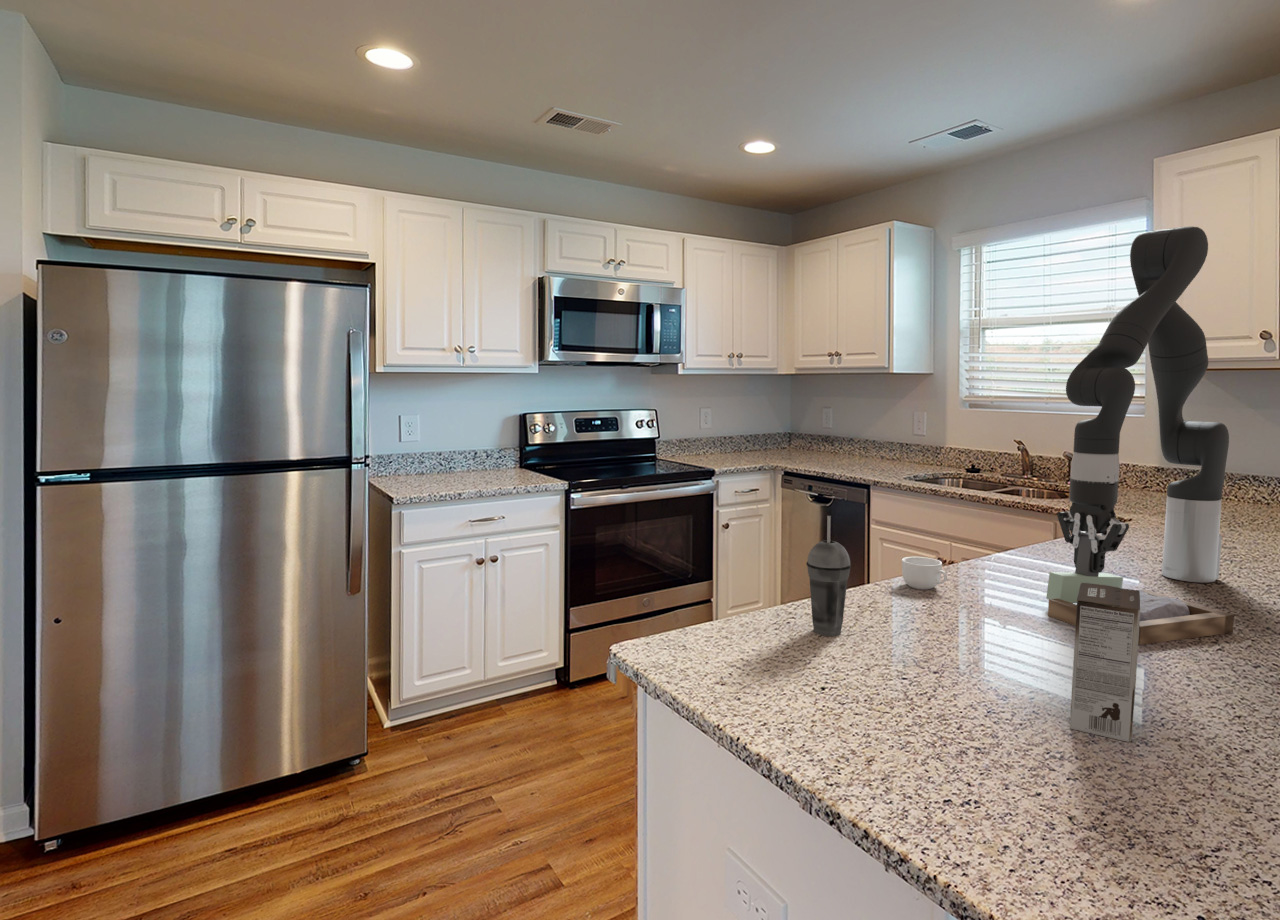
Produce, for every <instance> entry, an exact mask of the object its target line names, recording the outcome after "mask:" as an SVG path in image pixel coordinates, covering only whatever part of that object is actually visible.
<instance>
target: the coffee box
mask: <svg viewBox="0 0 1280 920" xmlns="http://www.w3.org/2000/svg"><path fill="white" fill-rule="evenodd" d="M1139 590H1140V589H1131V588H1118V587H1113V586H1107V585H1099V584H1091V583H1081V584H1080V588H1079V593H1078V598H1077V603H1076V605H1077V611H1076V626H1075V630H1074V646H1073V647H1074V649H1073V666H1072V680H1071V681H1072V683H1071V701H1070V702H1071V703H1070V717H1069V718H1070V719H1069V720H1070V722H1069V728H1070V730H1075V731H1078V732H1083V733H1087V734H1091V735H1097V736H1100V737H1105V738H1109V739H1113V740H1118V741H1122V742H1126V743H1130V742H1131V741H1132V732H1133V722H1134V721H1133V720H1134V712H1135V711H1134V710H1135V709H1134V708H1135V697H1136V685H1137V670H1138V667H1137V666H1138V656H1139V655H1138V654H1139V653H1138V651H1139V645H1138V640H1139V623H1140V592H1139Z"/></svg>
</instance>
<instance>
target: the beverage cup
mask: <svg viewBox="0 0 1280 920" xmlns="http://www.w3.org/2000/svg"><path fill="white" fill-rule="evenodd" d="M831 517H832V516H831V515H827V517H826V518H827V521H826V522H827V523H826V524H827V525H826V526H827V527H826V531H827V532H826V540H821V541H819V542H817V543H816V544H815V545H814V546H812V548H811V549H810V550H809V553H808V555H807V561H806V566H807V573H808V574H807V575H808V577H809V587H810V588H809V589H810V604H811V607H810V608H811V618H812V625H813V626H812V627H813V632H814V634H816V635H819V636H825V637H837V636H839V635H841V634H842V627H843V624H844V613H845V605H846V594H847V588H848V587H847V586H848V579H849V576H850V572H851V567H852V564H851V559H850V558H851V557H850V555H849V553H848V551H847V549H846V547H844V546H843V545H842V544H840V543H839V542H838V541H835V540H831V521H832V520H831V519H832V518H831Z"/></svg>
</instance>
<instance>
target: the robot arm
mask: <svg viewBox="0 0 1280 920" xmlns="http://www.w3.org/2000/svg"><path fill="white" fill-rule="evenodd" d="M1208 252H1209V241H1208V237H1207V233H1206V232H1205V231H1204V230H1203V229H1202V228H1200V227H1199V226H1180V227H1173V228H1164V229H1156V230H1150V231H1145V232H1140V233H1139V234H1138V235H1137V236H1135V237H1134V239H1133V241H1132V243H1131V247H1130V253H1129V258H1130V259H1129V260H1130V261H1129V262H1130V268H1131V273H1132V277H1133V281H1134V285H1135V288H1136V291H1137V294H1138V296H1137V297H1136V298H1135V299H1133V300H1131V301H1130V302H1129V303H1127V304H1126V305H1125V306H1123V308H1122V309H1120V310H1119V312H1117V313H1116V314H1115V316H1114V317H1113V318H1112V319H1111V321H1110V322H1109V324H1108V326H1107V328H1106V330H1105V331H1104V333H1103V335H1102V337H1101V339H1100V340H1099V343H1098V344H1097V345H1096V346H1095V347H1094V348H1093V349H1092V350H1091V351H1090V352H1089V353H1088V354H1087V355H1086V356H1085V357H1084V358H1083V359H1082V360H1081V361H1080V362H1079V363H1078V364H1077V365H1076V366H1075V367H1074V369H1073V370H1072V371H1071V372H1070V374H1069V377H1068V378H1067V381H1066V385H1065V393H1066V398H1067V399H1068V400H1069V402H1070V403H1072V404H1074V405H1076V406H1080V407H1101V408H1100V410H1099V413H1098V414H1097V415H1096V417H1094V418H1090V419H1085V420H1084V419H1083V420H1081V421H1078V422H1077V423H1076V424H1075V427H1074V433H1073V434H1074V435H1073V436H1074V439H1073V452H1072V453H1073V454H1072V459H1071V463H1070V476H1069V477H1070V478H1069V492H1068V493H1069V494H1068V495H1069V496H1068V500H1069V502H1071V505H1070V507H1069V510H1067V511H1058V512H1057V514H1056V516H1057V519H1058V522H1059V525H1060V529H1061V532H1062V534H1063V538H1064V541H1065V543H1068V544H1070V545H1072V547H1073V548H1074V551H1073V563H1074V567H1075V568H1076V563H1077V555H1078V548H1079V541H1080V538H1081V536H1089V539H1090V540H1091V547H1092V552H1091V558H1090V572H1093V573H1103V571H1104V569H1105V561H1106V554H1107V553H1109V552H1115V551H1117V550H1118V548H1119V546H1120V544H1121V543H1122V541H1123V539H1124V538H1125V535H1126V534H1127V533H1128V531H1129V529H1130V525H1129V523H1127V522H1122V521H1120V520H1119V519H1117V516H1116V512H1115V506H1116V505H1117V503H1118V499H1119V498H1118V495H1119V482H1120V480H1119V479H1120V457H1119V455H1120V454H1119V453H1120V439H1121V436H1120V435H1121V431H1122V427H1123V424H1124V421H1125V420H1126V416H1127V412H1128V410H1129V408H1130V406H1131V403H1132V401H1133V397H1134V395H1135V392H1136V381H1135V378H1134V376H1133V374H1132V373H1131V372H1130V370H1128V369H1127V368H1131V367H1133V366H1135V365H1136V364H1137V363H1138V362H1139V360H1140V359H1141V357H1142V355H1143V353H1144V351H1145V349H1146V347H1147V345H1148V354H1149V360H1150V365H1151V366H1150V367H1151V371H1152V375H1153V381H1154V385H1155V386H1154V387H1155V392H1156V400H1157V406H1158V422H1159V423H1158V424H1159V439H1160V447H1161V448H1160V449H1161V453H1162V456H1163V458H1164V459H1165V461H1166V462H1168V463H1169V464H1175V465H1181V466H1182V465H1183V466H1197V467H1198V466H1199V467H1201V468H1200V471H1199V473H1197V474H1196V475H1194V476H1192V477H1190V478H1189V477H1188V478H1186V479H1181V480H1176V481H1172V482H1170V483H1168V486H1167V489H1166V505H1165V518H1164V519H1165V521H1164V535H1163V549H1162V550H1163V551H1162V567H1161V575H1162V576H1164V577H1166V578H1169V579H1174V580H1177V581H1182V582H1191V583H1202V584H1203V583H1213V582H1216V580H1218V579H1219V577H1220V566H1221V565H1220V563H1221V553H1222V551H1221V549H1222V539H1223V537H1222V534H1220V531H1221V530H1220V529H1221V513H1222V501H1223V490H1224V483H1225V477H1226V476H1225V475H1226V466H1227V460H1228V454H1229V453H1228V452H1229V444H1230V435H1229V434H1230V433H1229V429H1228V427H1227V425H1226V424H1224V423H1222V422H1219V421H1217V422H1216V421H1195V420H1194V421H1192V420H1191V421H1189V420H1188V421H1186V420H1184V417H1183V408H1184V405H1185V403H1186V401H1187V399H1188V398H1189V396H1190V395H1191V394H1192V392H1193V391H1194V390H1195V388H1196V387H1197V386H1198V384H1199V383H1200V381H1202V379H1203V377H1204V375H1205V374H1206V372H1207V370H1208V367H1209V355H1208V349H1207V348H1208V347H1207V340H1206V335H1205V332H1204V331H1203V329H1202V328H1201V326H1200V325H1199V324H1198V323H1197V321H1195V319H1194V318H1193V317H1192V316H1191V315H1190V314H1189V313H1187V311H1186V310H1185V309H1183V308H1182V306H1180V305H1179V304H1178V303H1177V301H1178V300H1179V299H1180V297H1181V296H1182V295H1183V293H1184V292H1185V290H1186V289H1187V288H1188V286H1190V284H1191V283H1192V282H1193V281H1194V279H1196V276H1197V275H1199V273H1200V271H1201V269H1202V268H1203V266H1204V264H1205V262H1206V261H1207V260H1206V259H1207V256H1208ZM1099 540H1100V546H1099Z"/></svg>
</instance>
